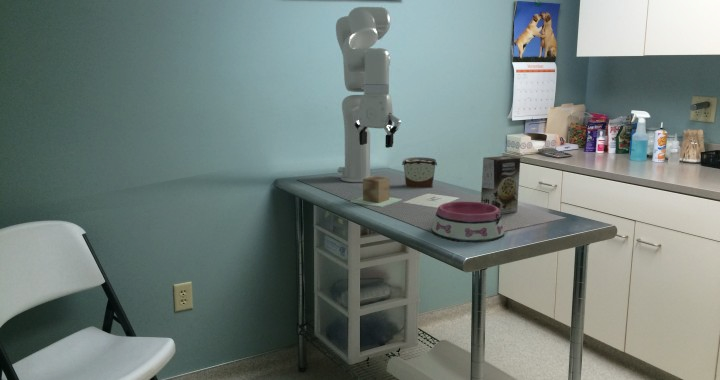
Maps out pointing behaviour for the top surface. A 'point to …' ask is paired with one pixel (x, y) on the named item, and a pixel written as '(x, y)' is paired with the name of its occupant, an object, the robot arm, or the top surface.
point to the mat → (390, 201)
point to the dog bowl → (468, 222)
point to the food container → (419, 171)
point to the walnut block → (376, 189)
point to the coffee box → (501, 182)
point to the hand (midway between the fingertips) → (376, 145)
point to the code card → (431, 200)
